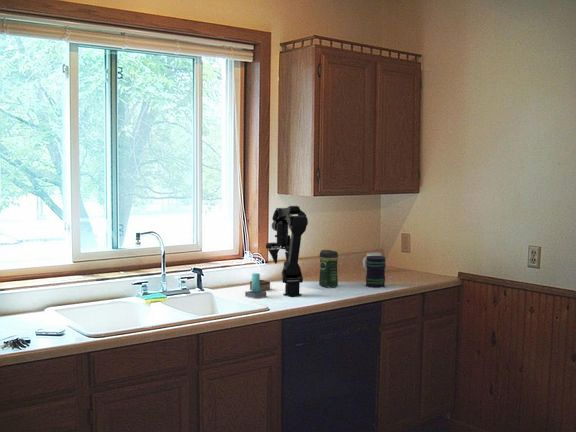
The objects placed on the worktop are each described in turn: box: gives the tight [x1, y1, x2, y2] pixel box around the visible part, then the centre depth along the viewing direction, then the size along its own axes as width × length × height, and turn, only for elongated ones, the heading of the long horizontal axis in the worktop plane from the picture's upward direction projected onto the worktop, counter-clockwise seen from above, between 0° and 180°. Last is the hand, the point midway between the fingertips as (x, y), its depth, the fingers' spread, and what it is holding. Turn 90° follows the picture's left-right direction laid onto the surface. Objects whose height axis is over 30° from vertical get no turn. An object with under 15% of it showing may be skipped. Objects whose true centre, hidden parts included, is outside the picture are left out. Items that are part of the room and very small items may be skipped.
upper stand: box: [249, 279, 271, 292], centre depth 318 cm, size 7×7×4 cm
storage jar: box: [365, 255, 387, 289], centre depth 331 cm, size 10×10×15 cm
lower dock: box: [244, 290, 267, 299], centre depth 302 cm, size 7×7×2 cm
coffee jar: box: [318, 249, 339, 288], centre depth 329 cm, size 10×8×19 cm
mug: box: [362, 252, 382, 272], centre depth 374 cm, size 12×8×11 cm
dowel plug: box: [251, 272, 261, 294], centre depth 301 cm, size 4×4×10 cm
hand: (282, 264), depth 321 cm, fingers open, 9 cm apart
